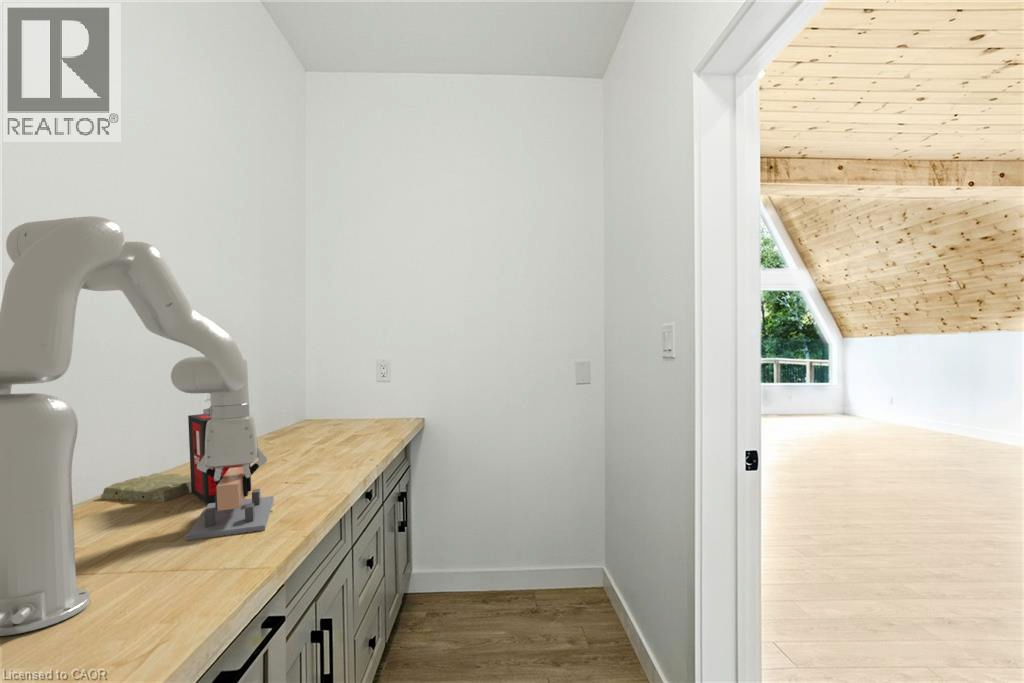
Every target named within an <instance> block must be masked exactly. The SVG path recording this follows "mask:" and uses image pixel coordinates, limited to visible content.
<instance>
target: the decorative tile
mask: <svg viewBox="0 0 1024 683" xmlns="http://www.w3.org/2000/svg"><path fill="white" fill-rule="evenodd" d="M190 493H192V492H191V473H189V474H187V473H186V474H184V473H183V474H180V473H171V474H170V473H169V474H168V473H160V472H159V473H158V472H157V473H155V472H154V473H152V474H148V475H142V476H138V477H134V478H129V479H127V480H123V481H120V482H119V481H118V482H115V483H113V484H111V485H108V486H107V487H105V488H103V493H101V495H100V498H101V499H102V500H104V499H109V500H119V499H120V501H129V502H152V503H153V502H157V503H158V502H159V503H161V502H162V503H164V502H168V501H170V500H172V499H175V497H176V498H177V497H181V496H184V495H187V494H190Z"/></svg>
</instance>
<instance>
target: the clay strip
mask: <svg viewBox="0 0 1024 683" xmlns="http://www.w3.org/2000/svg"><path fill="white" fill-rule="evenodd" d="M243 478H244V470H243V467H234V468H229V469H228V471H227V472H226V473H225V475H224V476H223V478H222V479H221V480H220V482H219V483H218V485H217V486H216V488H217V509H218V511H221V510H229V509H237V508H240V506H241V504H242V501H243V499H245V497H244V493H243Z"/></svg>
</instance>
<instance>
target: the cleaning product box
mask: <svg viewBox="0 0 1024 683" xmlns="http://www.w3.org/2000/svg"><path fill="white" fill-rule="evenodd" d="M209 420H211V417H210V416H208V415H204V414H203V413H200V414H190V415H188V416H187V421H188V422H187V423H188V441H189V443H188V445H189V463H190V464H189V466H190V467H189V468H190V469H189V470H190V474H191V492H190V493H192V494H193V495H195V496H196V497H197V498H198V499H200V501H202V502H203V503H204V504H206V505H208V504H209V503H215V496H216V495H217V491H216V481H215V480H214V479H213V478H212V477H211V476H209V475H208V474H207V473H205V472H203V471H201V470H199V469H197V465H198V464H199V462H200V461H201V459H202V458H203V456H204V455H205V434H206V425H207V421H209ZM234 467H243V466H242V465H238V466H228V467H223V473H222V475H223V476H224V475H225V473H226V472H227V471H228V469H229V468H234ZM214 469H215V468H214ZM246 497H247V496H245V497H244V498H246Z"/></svg>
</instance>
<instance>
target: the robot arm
mask: <svg viewBox="0 0 1024 683" xmlns="http://www.w3.org/2000/svg"><path fill="white" fill-rule="evenodd" d="M5 249H6V252H7V255H8V257H9V259H10V260H11V262H12V263H13V265H12V266H11V268H10V270H9V272H8V274H7V278H6V280H5V284H4V288H3V294H2V299H1V300H2V301H1V303H0V304H1V306H0V637H6V636H12V635H19V634H23V633H29V632H33V631H36V630H40V629H42V628H47V627H49V626H52V625H55V624H58V623H61V622H63V621H66V620H68V619H70V618H72V617H73V616H76V615H77V614H79V613H80V612H82V611H84V609H86V608H87V606H89V605H90V602H91V594H90V592H89V591H88V590H86V589H83V588H79V587H78V588H77V575H76V574H77V572H76V552H75V550H76V549H75V531H74V530H75V526H74V506H73V505H74V504H73V503H74V502H73V487H72V486H73V485H72V484H73V483H72V482H73V480H72V479H73V478H72V477H73V476H72V475H73V473H72V472H73V459H74V451H75V447H76V442H77V438H78V432H79V428H78V426H79V421H78V417H77V414H76V412H75V410H74V409H73V407H72V406H71V405H70V403H68V402H67V401H65V400H63V399H62V398H60V397H57V396H55V395H51V394H46V393H33V392H31V393H30V392H29V393H24V392H23V393H12V386H13V385H33V384H44V383H51V382H53V381H56V380H58V379H60V378H61V377H63V376H64V375H65V374H66V373H67V372H68V370H69V367H70V364H71V360H72V354H73V347H74V346H73V345H74V336H75V334H74V333H75V323H76V312H77V305H78V299H79V295H80V292H81V290H82V289H83V290H88V291H93V292H94V291H95V292H108V291H110V292H112V291H121V292H122V293H123V294H124V296H125V297H126V299H127V300H128V302H129V304H130V305H131V307H132V308H133V310H134V311H135V313H136V314H137V316H138V317H139V319H140V321H141V322H142V323H143V325H144V327H145V329H146V330H148V331H149V332H150V333H151V334H154V335H156V336H160V337H162V338H164V339H167V340H170V341H173V342H176V343H179V344H183V345H185V346H188V347H190V348H192V349H194V350H196V351H198V352H200V353H201V354H202V355H203V356H191V357H186V358H185V357H184V358H183V359H181V360H180V361H178V362H176V363H175V364H174V366H173V367H172V369H171V372H170V380H171V383H172V385H173V386H174V387H175V388H176V389H177V390H179V391H180V392H183V393H185V394H209V395H210V397H209V398H210V406H209V407H208V408H203V411H202V412H203V413H202V414H204V415H208V416H210V417H211V420H209V421H207V425H206V434H205V455H204V456H203V458H202V459H201V461H200V462H199V464H198V465H197V469H199V470H201V471H203V472H205V473H207V474H208V475H209V476H211V477H212V478H213V479H214V480H215V481H216V486H217V485H218V483H219V482H220V480H221V479H222V478H223V475H222V473H223V467H228V466H238V465H242V466H243V470H244V478H243V493H244V498H246V497H247V496H248V495H249V492H252V476H253V474H254V473H255V472H256V471H257V470H258V469H259V468H260V467H262V466H263V465H265V464H266V463H267V462H268V457H267V456H266V455H265V454H264V453H263V451H262V450H261V449H260V447H259V445H258V435H257V429H256V423H255V419H254V417H253V416H250V399H249V397H250V396H249V392H250V391H249V378H248V377H249V376H248V362H247V359H246V357H244V356H243V355H242V353H241V350H240V349H239V346H238V345H237V343H236V341H235V340H234V339H233V337H232V336H231V335H230V334H229V333H228V332H227V331H226V330H225V329H223V328H222V327H220V326H219V325H218V324H216V323H215V322H214V321H213V320H211V319H210V318H208V317H207V316H205V315H203V314H202V313H200V312H199V311H197V310H195V309H194V307H192V305H191V304H190V302H189V300H188V299H187V297H186V295H185V293H184V292H183V289H182V288H181V286H180V285H179V283H178V281H177V280H176V278H175V276H174V273H173V272H172V271H171V269H170V267H169V265H168V264H167V262H166V260H165V258H164V257H163V255H162V253H161V252H160V251H159V250H158V249H157V248H156V247H155V246H153V245H152V244H151V243H147V242H144V241H125V235H124V232H123V230H122V228H121V227H120V226H119V225H118V224H117V223H116V222H114V221H112V220H111V219H108V218H105V217H102V216H94V215H93V216H92V215H91V216H77V217H65V218H58V219H49V220H38V221H29V222H25V223H22V224H19V225H18V226H16V227H15V228H13V229H12V230H11V231H10V232H9V234H8V235H7V238H6V242H5ZM257 459H258V460H257ZM251 464H252V465H251ZM214 468H215V469H214ZM216 491H217V488H216ZM245 496H246V497H245Z"/></svg>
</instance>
